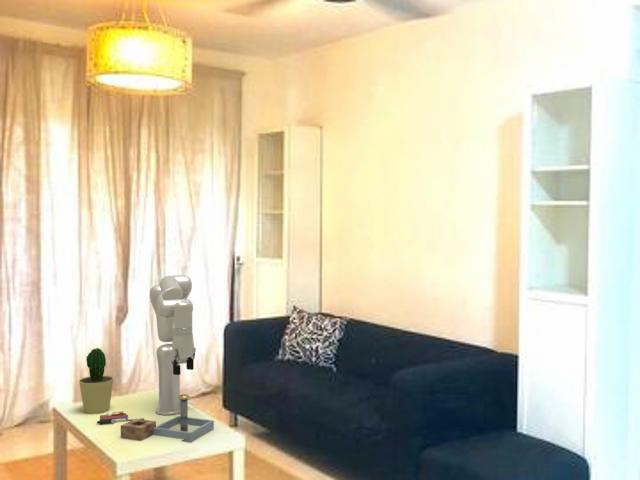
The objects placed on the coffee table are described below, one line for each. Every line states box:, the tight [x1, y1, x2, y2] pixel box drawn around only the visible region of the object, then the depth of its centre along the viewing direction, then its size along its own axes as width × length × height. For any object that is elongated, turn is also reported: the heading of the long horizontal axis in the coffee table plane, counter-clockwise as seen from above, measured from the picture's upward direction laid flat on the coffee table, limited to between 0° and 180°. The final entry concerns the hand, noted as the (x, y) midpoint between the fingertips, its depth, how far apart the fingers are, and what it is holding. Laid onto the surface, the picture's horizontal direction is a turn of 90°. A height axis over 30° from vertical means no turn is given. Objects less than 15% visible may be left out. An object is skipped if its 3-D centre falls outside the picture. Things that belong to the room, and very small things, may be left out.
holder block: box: [120, 418, 157, 442], centre depth 270 cm, size 10×10×6 cm
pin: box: [178, 393, 190, 432], centre depth 276 cm, size 5×5×15 cm
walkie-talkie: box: [96, 410, 145, 426], centre depth 292 cm, size 9×4×20 cm
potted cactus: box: [78, 347, 114, 415], centre depth 309 cm, size 15×15×30 cm
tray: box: [152, 415, 215, 443], centre depth 276 cm, size 18×18×4 cm
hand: (183, 372), depth 276 cm, fingers open, 9 cm apart
